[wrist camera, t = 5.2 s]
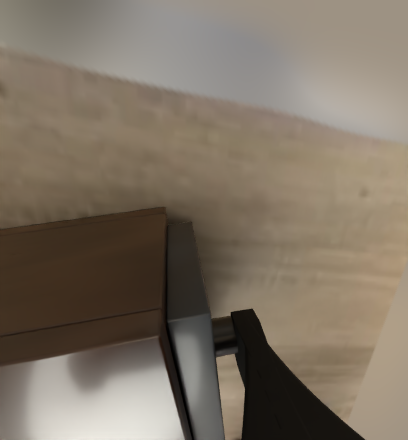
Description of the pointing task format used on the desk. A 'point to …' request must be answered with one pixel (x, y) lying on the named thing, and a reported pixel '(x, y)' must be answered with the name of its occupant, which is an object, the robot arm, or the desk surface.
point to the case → (88, 331)
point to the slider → (195, 334)
